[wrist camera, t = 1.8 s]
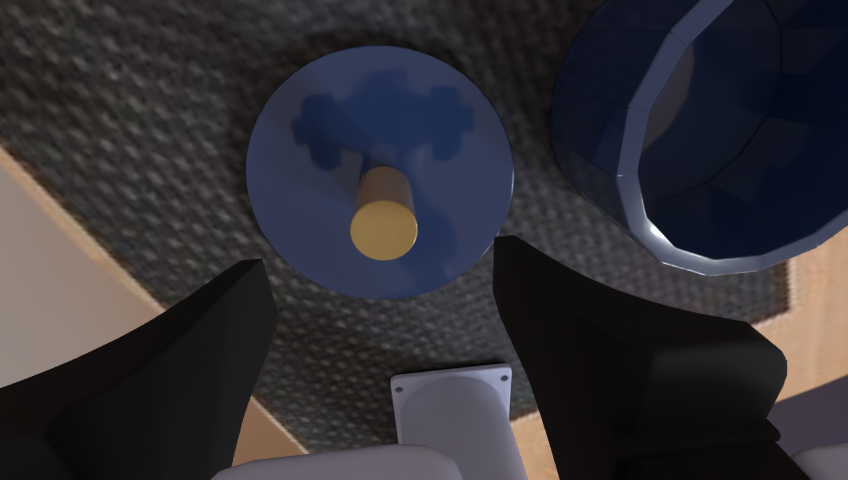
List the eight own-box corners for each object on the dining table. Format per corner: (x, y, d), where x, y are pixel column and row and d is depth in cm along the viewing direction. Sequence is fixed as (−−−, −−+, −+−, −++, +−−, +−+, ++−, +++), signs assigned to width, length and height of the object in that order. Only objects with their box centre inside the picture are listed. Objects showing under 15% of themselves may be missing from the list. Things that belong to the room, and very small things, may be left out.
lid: (503, 276, 23) (533, 340, 18) (285, 297, 23) (258, 369, 18) (513, 34, 17) (562, 36, 12) (218, 54, 17) (151, 63, 12)
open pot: (742, 201, 22) (866, 260, 16) (539, 219, 22) (595, 287, 16) (830, -53, 17) (1062, -97, 11) (562, -38, 16) (659, -75, 10)
